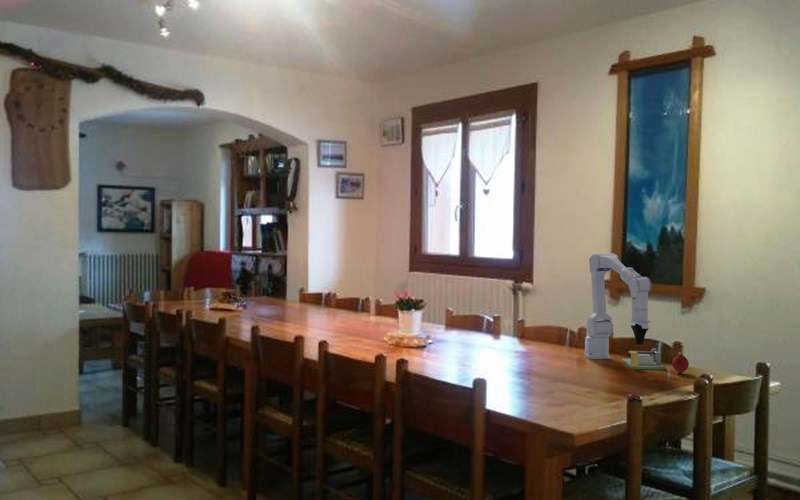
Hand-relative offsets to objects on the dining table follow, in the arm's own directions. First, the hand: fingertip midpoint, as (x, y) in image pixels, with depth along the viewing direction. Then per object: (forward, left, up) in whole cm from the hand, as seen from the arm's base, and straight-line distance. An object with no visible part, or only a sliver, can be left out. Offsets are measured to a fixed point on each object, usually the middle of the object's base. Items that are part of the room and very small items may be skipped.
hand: (639, 344), depth 258 cm
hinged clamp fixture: (+5, +11, -11) cm, 16 cm away
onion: (+15, -2, -11) cm, 18 cm away
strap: (+5, +11, -6) cm, 13 cm away
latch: (0, +6, -10) cm, 11 cm away
